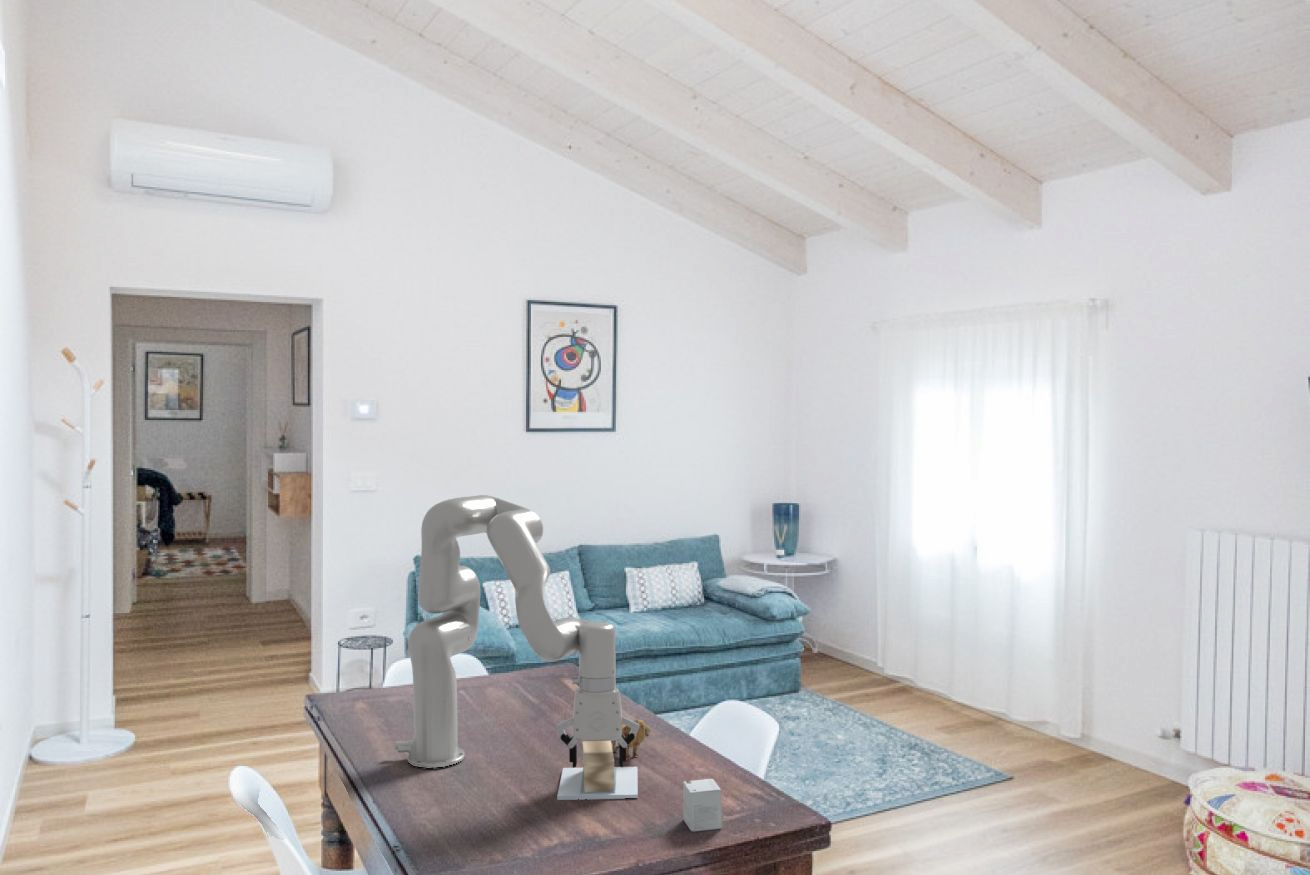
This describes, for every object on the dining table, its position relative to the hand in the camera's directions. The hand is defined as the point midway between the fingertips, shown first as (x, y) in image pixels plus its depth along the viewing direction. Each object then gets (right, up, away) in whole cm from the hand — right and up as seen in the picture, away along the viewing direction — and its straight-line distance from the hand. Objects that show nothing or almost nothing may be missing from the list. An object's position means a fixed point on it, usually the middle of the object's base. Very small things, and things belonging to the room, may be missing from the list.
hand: (597, 765), depth 204 cm
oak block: (0, -3, 0) cm, 3 cm away
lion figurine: (+6, -4, +19) cm, 20 cm away
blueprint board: (0, -4, 0) cm, 4 cm away
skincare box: (+21, -4, -21) cm, 29 cm away
